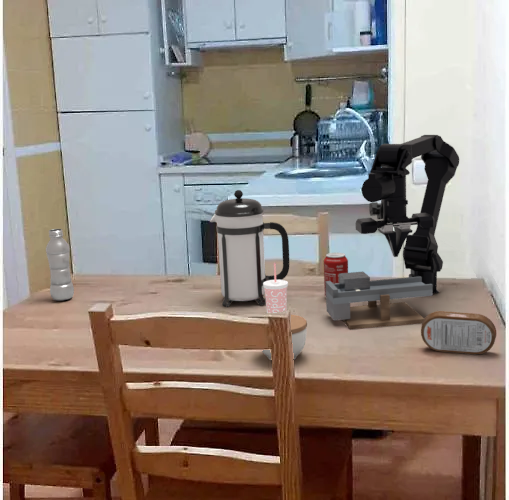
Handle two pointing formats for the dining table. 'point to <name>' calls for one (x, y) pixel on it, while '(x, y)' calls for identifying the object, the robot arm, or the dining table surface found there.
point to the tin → (458, 332)
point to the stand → (382, 314)
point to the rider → (354, 281)
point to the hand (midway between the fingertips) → (395, 256)
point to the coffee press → (244, 249)
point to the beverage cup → (275, 294)
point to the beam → (373, 294)
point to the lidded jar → (295, 335)
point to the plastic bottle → (59, 266)
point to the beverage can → (334, 267)
